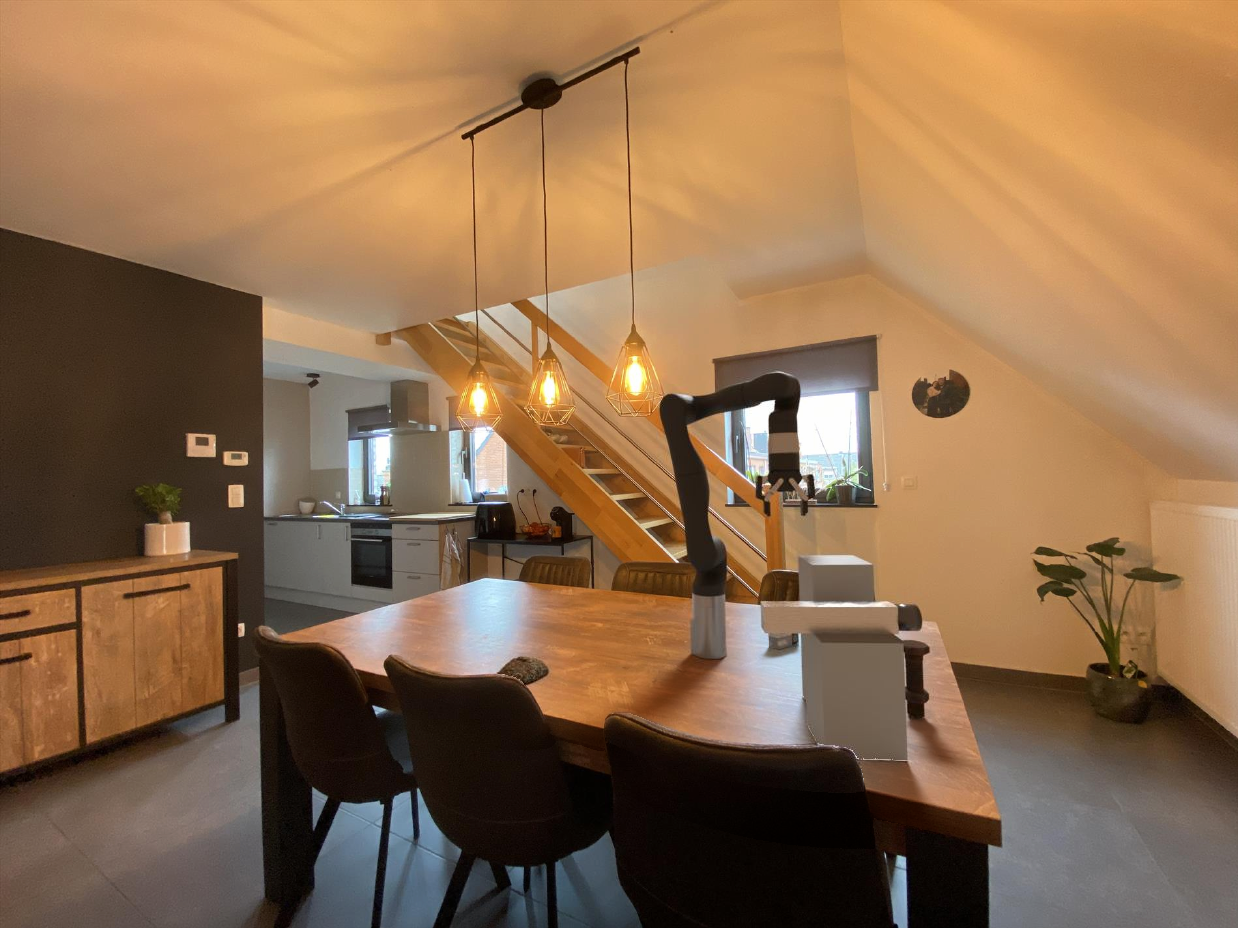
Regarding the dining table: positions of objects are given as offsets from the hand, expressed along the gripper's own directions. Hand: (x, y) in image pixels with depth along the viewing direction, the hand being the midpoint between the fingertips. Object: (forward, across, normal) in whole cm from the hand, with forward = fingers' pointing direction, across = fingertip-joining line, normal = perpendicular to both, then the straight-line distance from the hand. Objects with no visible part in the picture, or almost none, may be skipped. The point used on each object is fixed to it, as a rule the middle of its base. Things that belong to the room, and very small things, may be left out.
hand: (785, 516), depth 129 cm
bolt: (+40, -21, +20) cm, 50 cm away
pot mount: (+40, -5, +24) cm, 47 cm away
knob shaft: (+19, -2, +31) cm, 37 cm away
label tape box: (+40, -3, -24) cm, 47 cm away
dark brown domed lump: (+41, +69, +2) cm, 80 cm away
